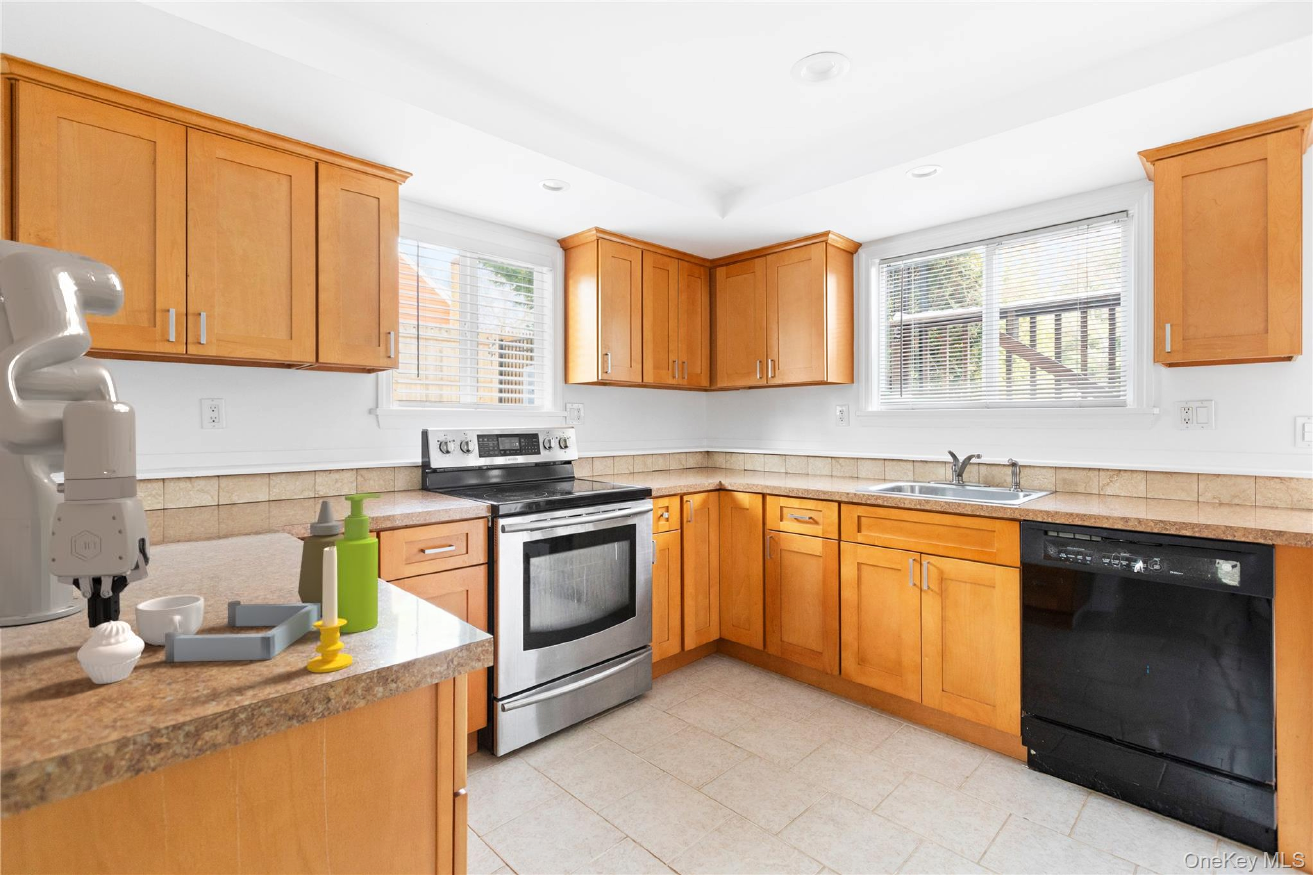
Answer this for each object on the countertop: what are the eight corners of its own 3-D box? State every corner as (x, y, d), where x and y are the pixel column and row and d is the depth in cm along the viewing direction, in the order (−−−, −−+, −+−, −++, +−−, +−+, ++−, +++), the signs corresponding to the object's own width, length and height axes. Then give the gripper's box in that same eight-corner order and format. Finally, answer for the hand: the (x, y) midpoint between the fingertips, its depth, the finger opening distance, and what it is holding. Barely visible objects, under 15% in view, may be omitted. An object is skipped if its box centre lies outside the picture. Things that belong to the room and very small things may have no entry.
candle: (323, 676, 78) (323, 549, 78) (297, 667, 81) (297, 544, 80) (361, 662, 83) (361, 542, 82) (336, 654, 85) (336, 538, 85)
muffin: (125, 687, 74) (125, 627, 74) (63, 691, 73) (63, 630, 73) (155, 667, 80) (155, 611, 80) (98, 670, 79) (98, 614, 79)
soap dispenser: (391, 621, 100) (391, 492, 99) (356, 634, 93) (357, 497, 93) (361, 616, 102) (361, 491, 101) (325, 629, 95) (325, 495, 95)
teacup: (133, 639, 90) (133, 601, 90) (199, 627, 96) (199, 591, 95) (139, 658, 83) (139, 617, 83) (210, 645, 88) (210, 606, 88)
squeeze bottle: (363, 604, 108) (363, 498, 108) (334, 619, 100) (334, 504, 100) (318, 602, 109) (318, 497, 109) (286, 617, 101) (286, 503, 101)
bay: (162, 662, 82) (162, 635, 82) (231, 623, 97) (231, 600, 97) (269, 660, 83) (269, 633, 83) (321, 622, 99) (321, 599, 99)
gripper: (17, 494, 83) (20, 635, 83) (140, 492, 85) (143, 630, 85) (64, 489, 91) (67, 619, 91) (177, 487, 92) (179, 614, 92)
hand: (104, 624), depth 88 cm, fingers closed
